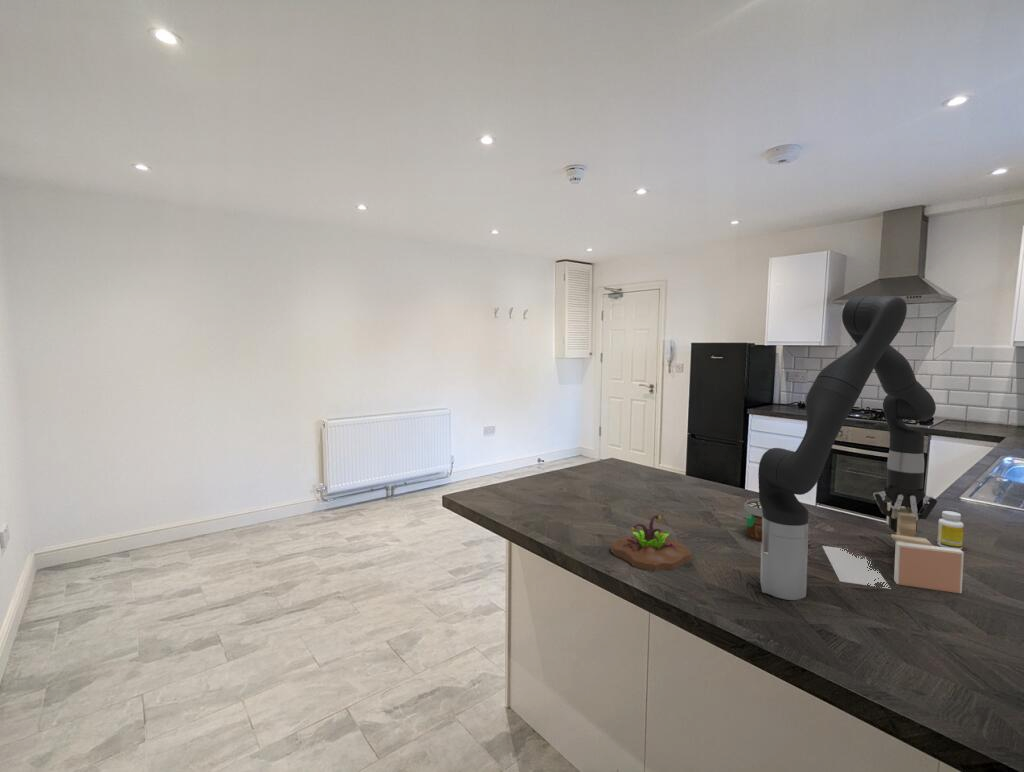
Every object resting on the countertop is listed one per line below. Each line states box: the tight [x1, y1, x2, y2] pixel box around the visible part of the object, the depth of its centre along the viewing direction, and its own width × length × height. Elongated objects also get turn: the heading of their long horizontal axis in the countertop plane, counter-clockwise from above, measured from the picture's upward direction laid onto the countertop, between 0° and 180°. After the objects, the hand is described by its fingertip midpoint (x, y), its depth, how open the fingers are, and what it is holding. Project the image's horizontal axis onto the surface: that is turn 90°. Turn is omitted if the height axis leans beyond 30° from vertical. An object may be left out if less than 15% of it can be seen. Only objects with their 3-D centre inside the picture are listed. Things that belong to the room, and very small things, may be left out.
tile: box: [893, 542, 965, 594], centre depth 113 cm, size 12×2×10 cm, turn 67°
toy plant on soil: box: [610, 514, 693, 572], centre depth 134 cm, size 20×20×11 cm
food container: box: [743, 498, 763, 542], centre depth 147 cm, size 12×6×10 cm, turn 141°
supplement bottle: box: [936, 510, 965, 551], centre depth 137 cm, size 5×5×10 cm
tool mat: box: [821, 545, 892, 590], centre depth 125 cm, size 10×23×1 cm, turn 157°
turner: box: [885, 502, 934, 546], centre depth 126 cm, size 20×7×6 cm, turn 157°
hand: (902, 531), depth 129 cm, fingers closed on turner, 3 cm apart
